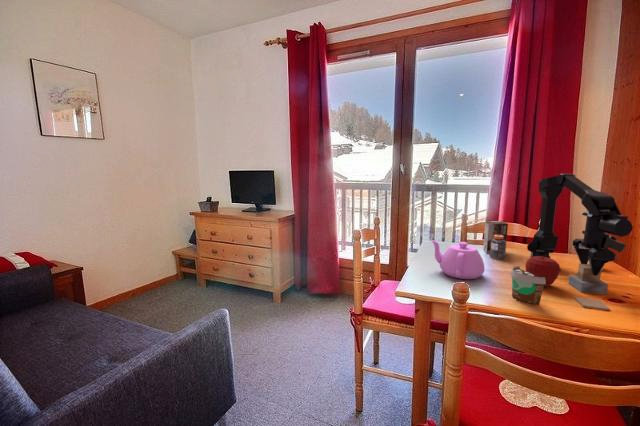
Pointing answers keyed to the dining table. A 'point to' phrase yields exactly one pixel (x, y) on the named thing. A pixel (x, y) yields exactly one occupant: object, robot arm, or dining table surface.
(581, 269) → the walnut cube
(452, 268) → the pink pot
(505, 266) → the dining table surface
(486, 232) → the coffee box
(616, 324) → the dining table surface
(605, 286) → the grey flat block
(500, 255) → the pill bottle
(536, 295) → the food container
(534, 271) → the apple
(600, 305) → the tile
